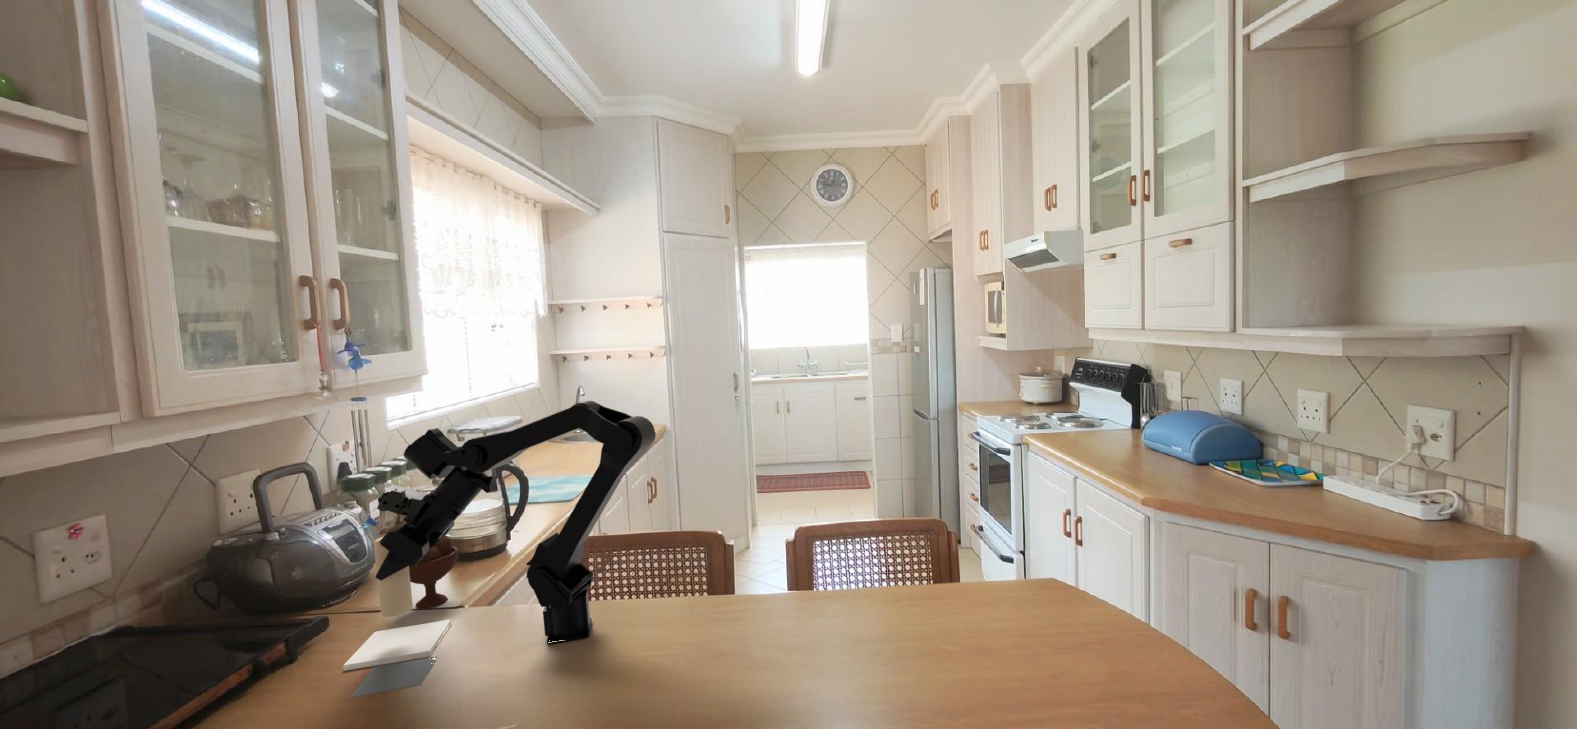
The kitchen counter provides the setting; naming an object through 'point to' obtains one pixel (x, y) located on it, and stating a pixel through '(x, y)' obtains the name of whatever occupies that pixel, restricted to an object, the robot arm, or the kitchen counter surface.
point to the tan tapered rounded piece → (393, 587)
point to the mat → (395, 676)
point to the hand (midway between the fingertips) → (383, 573)
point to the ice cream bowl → (434, 571)
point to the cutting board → (398, 645)
